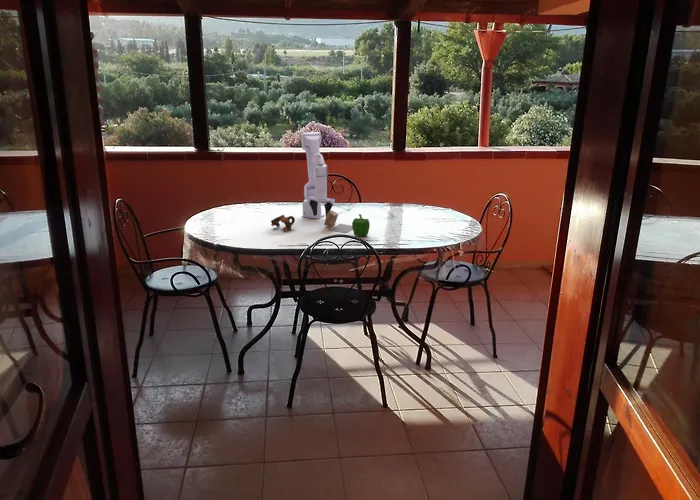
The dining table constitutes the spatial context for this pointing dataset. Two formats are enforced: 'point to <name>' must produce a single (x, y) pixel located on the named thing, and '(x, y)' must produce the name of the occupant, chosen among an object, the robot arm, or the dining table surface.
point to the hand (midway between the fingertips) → (321, 216)
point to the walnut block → (331, 219)
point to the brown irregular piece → (284, 220)
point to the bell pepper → (360, 226)
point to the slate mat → (342, 228)
